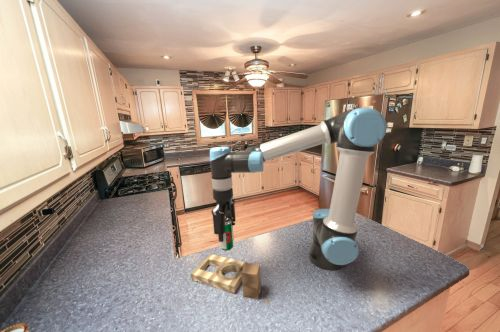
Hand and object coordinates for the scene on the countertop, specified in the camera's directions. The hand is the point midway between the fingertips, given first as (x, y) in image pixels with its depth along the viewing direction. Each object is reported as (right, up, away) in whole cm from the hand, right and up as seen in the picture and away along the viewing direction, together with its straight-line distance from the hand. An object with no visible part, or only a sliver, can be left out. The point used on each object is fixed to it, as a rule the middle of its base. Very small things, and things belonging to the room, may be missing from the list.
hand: (226, 243), depth 82 cm
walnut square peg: (+10, -16, -6) cm, 20 cm away
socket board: (-3, -15, +5) cm, 16 cm away
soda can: (0, -2, 0) cm, 2 cm away
